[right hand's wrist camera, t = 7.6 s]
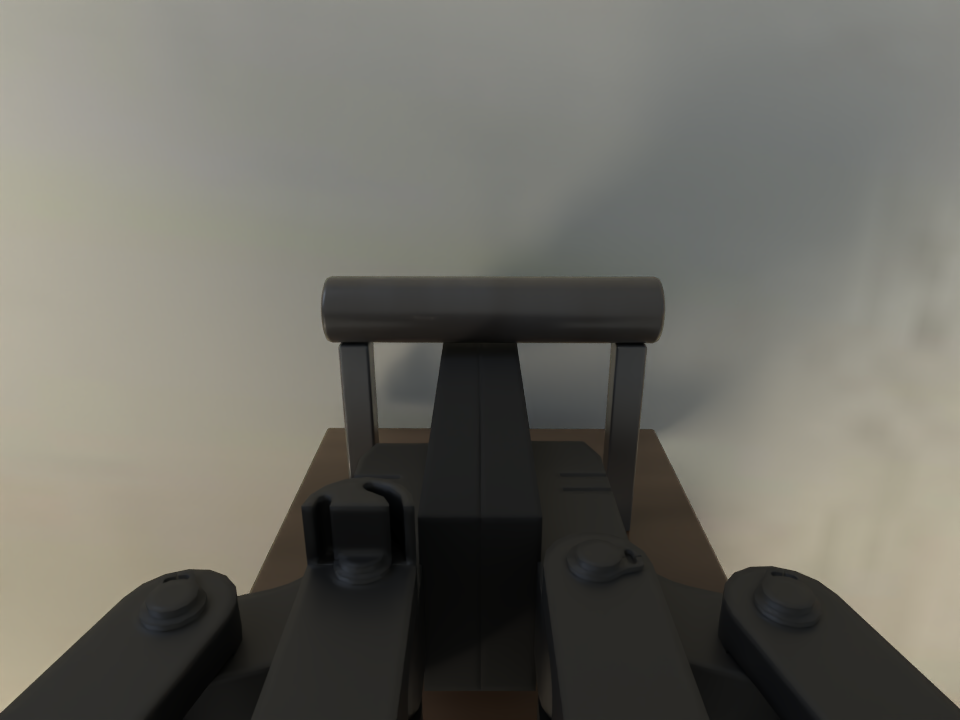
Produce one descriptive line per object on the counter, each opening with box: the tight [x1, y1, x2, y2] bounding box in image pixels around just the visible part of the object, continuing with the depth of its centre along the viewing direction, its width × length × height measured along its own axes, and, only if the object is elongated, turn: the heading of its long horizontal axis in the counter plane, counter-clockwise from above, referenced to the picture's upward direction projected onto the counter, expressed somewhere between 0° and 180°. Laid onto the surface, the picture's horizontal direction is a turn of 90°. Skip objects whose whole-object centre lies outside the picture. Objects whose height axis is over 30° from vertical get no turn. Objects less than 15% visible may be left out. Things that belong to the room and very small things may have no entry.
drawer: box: [249, 276, 728, 720], centre depth 17 cm, size 21×9×10 cm, turn 0°
